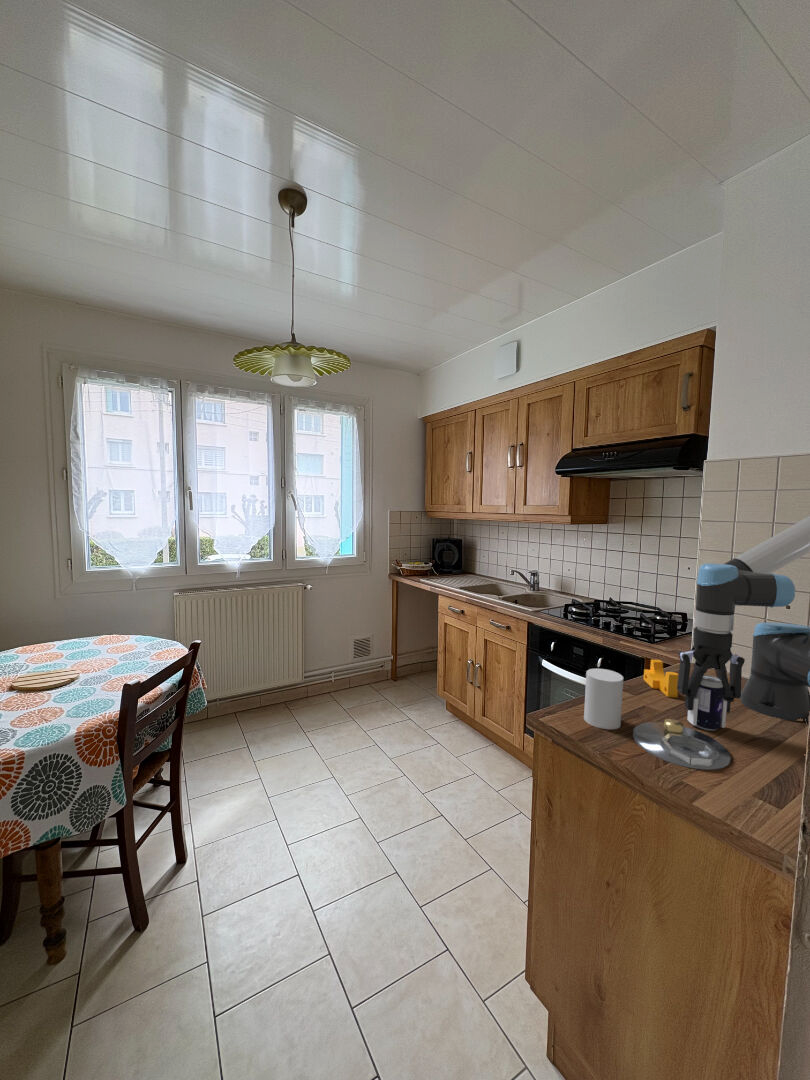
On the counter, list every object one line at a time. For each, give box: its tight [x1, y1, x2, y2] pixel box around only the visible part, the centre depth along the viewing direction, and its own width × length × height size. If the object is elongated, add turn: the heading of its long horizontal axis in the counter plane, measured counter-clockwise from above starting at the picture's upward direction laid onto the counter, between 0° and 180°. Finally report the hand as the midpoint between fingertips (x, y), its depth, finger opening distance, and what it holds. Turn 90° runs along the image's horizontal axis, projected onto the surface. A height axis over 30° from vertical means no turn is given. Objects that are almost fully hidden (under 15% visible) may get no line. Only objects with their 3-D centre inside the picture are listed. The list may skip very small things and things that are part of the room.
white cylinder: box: [583, 668, 624, 730], centre depth 106 cm, size 8×8×12 cm
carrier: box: [632, 718, 732, 771], centre depth 96 cm, size 18×18×4 cm
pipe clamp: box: [643, 659, 679, 698], centre depth 128 cm, size 12×4×6 cm, turn 172°
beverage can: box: [695, 674, 724, 732], centre depth 105 cm, size 6×6×12 cm
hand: (705, 723), depth 105 cm, fingers closed on beverage can, 6 cm apart
